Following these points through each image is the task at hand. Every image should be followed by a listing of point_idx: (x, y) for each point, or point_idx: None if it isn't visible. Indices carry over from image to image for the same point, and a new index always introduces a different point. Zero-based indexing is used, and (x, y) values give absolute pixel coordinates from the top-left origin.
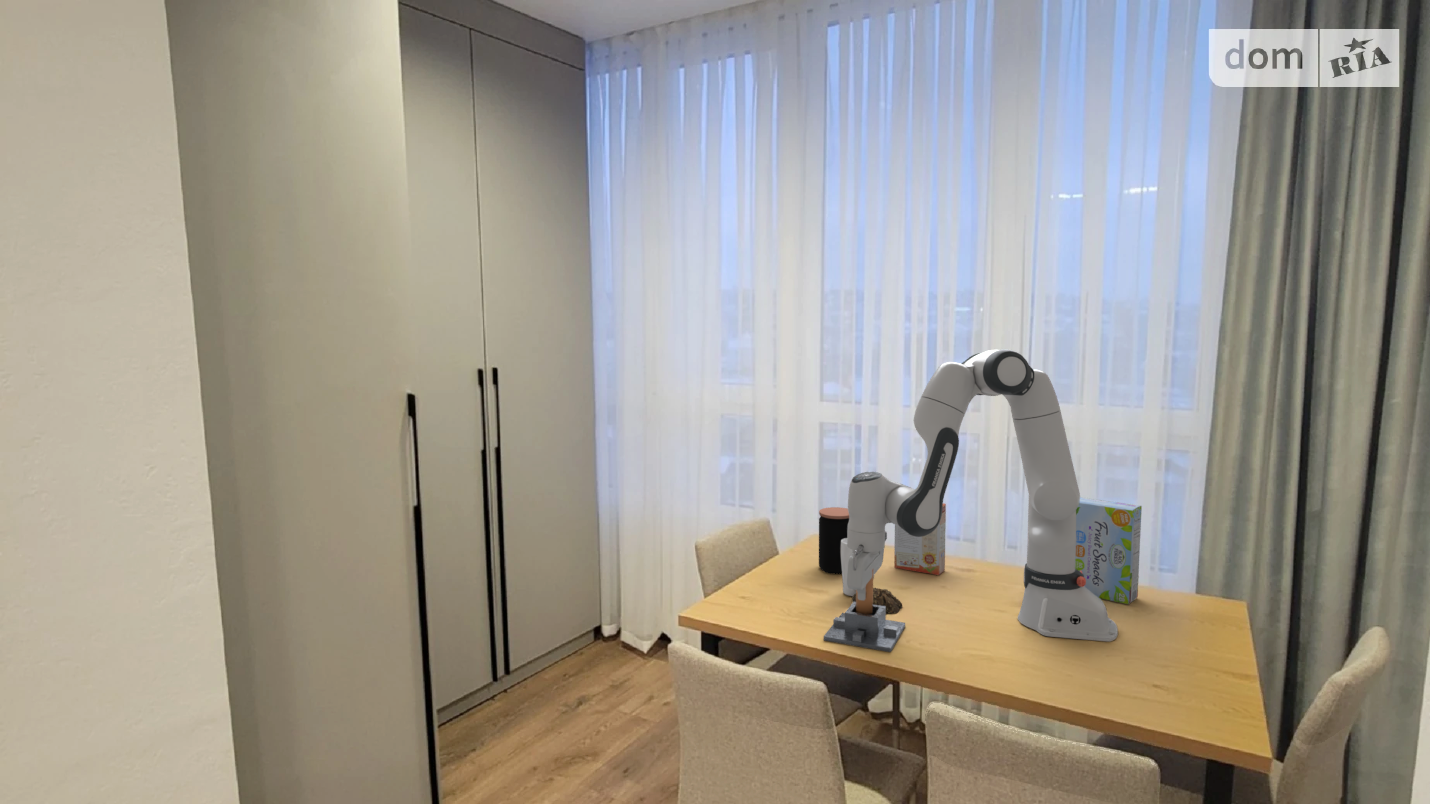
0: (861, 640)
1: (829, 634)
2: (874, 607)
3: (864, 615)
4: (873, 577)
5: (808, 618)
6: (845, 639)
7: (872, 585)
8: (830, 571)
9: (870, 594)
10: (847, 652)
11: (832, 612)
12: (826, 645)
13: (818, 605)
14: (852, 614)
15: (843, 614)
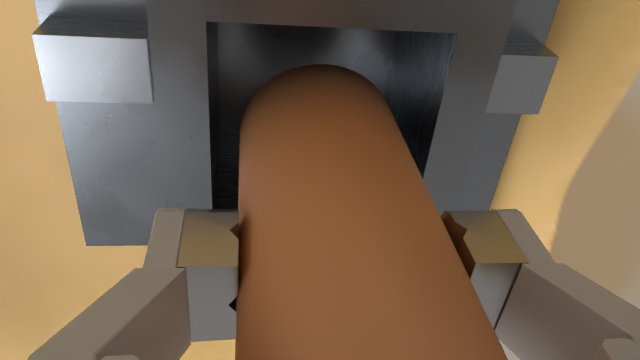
0: (533, 42)
1: None
2: (208, 72)
3: (472, 115)
4: (84, 351)
5: (215, 344)
6: (504, 136)
7: (405, 269)
8: None
9: (414, 196)
10: (614, 85)
11: (64, 283)
12: (529, 200)
13: (12, 357)
14: (454, 202)
15: (112, 234)
